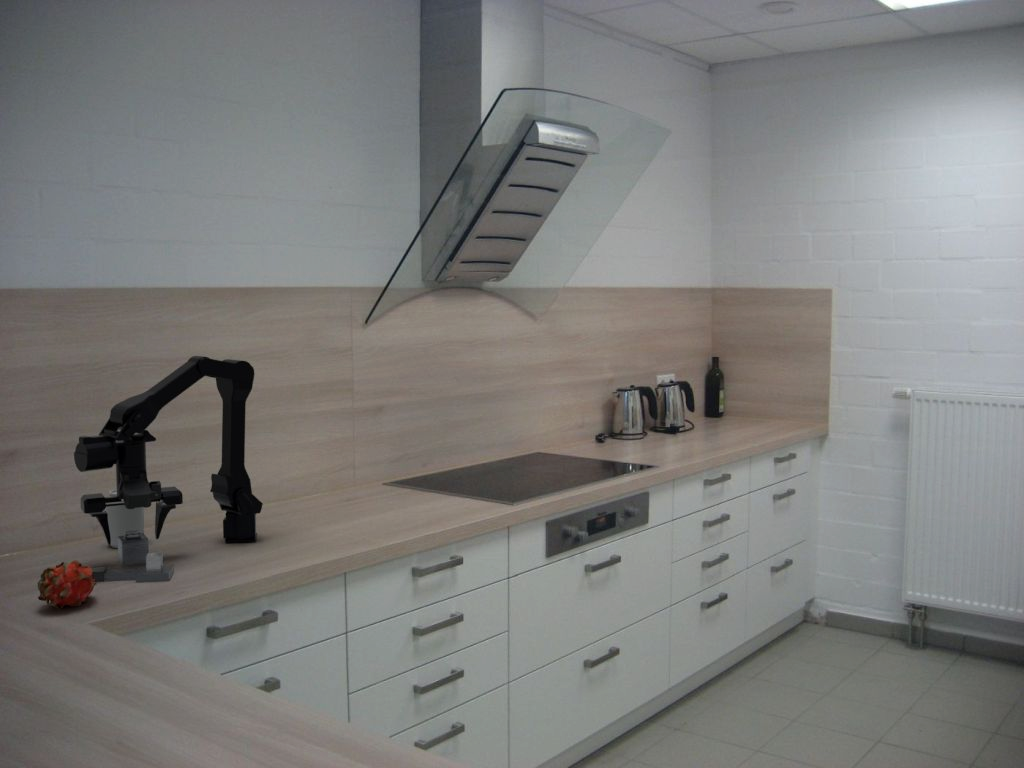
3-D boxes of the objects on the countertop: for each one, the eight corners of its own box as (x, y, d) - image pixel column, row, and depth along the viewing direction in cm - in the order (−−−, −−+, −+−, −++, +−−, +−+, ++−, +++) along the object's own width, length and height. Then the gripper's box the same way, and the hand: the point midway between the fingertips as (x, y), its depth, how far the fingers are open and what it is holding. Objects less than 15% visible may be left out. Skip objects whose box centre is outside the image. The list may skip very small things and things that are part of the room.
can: (151, 542, 219) (150, 487, 218) (130, 550, 212) (128, 494, 211) (122, 539, 221) (120, 485, 220) (99, 547, 214) (97, 492, 213)
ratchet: (173, 572, 196) (172, 549, 196) (168, 581, 190) (168, 558, 190) (64, 576, 193) (63, 554, 192) (56, 586, 187) (55, 562, 186)
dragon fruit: (36, 625, 170) (87, 614, 181) (71, 599, 168) (120, 589, 179) (15, 581, 172) (67, 572, 183) (50, 555, 170) (100, 548, 181)
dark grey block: (144, 557, 207) (143, 528, 206) (148, 562, 203) (148, 533, 202) (118, 560, 204) (117, 531, 204) (122, 566, 200) (121, 536, 200)
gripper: (87, 476, 190) (89, 556, 192) (188, 467, 200) (190, 544, 201) (78, 466, 200) (81, 543, 201) (175, 459, 209) (177, 532, 211)
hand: (133, 541), depth 203 cm, fingers open, 9 cm apart
